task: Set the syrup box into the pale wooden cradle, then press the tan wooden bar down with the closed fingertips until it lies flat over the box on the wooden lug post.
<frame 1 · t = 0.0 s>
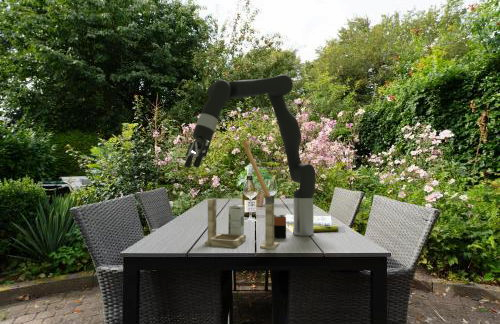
hand: (191, 167, 118), 31 cm above the table, tool tilted 20°, fingers open, 8 cm apart
tan wooden bar: (257, 170, 128), point 30 cm above the table, hinge at 65.0°
syrup box: (236, 238, 142), on the table
battery: (278, 237, 142), on the table
clamp rig: (227, 243, 131), on the table
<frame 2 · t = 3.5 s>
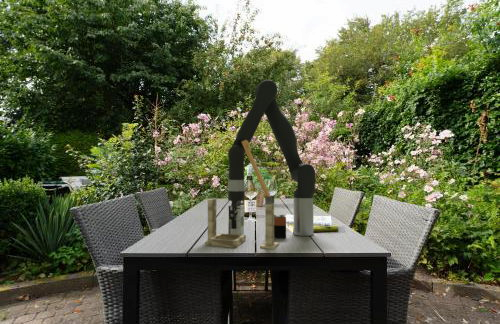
hand: (236, 227, 142), 5 cm above the table, tool pointing down, fingers closed on syrup box, 6 cm apart
syrup box: (236, 238, 142), on the table, touching gripper
everything else where it was.
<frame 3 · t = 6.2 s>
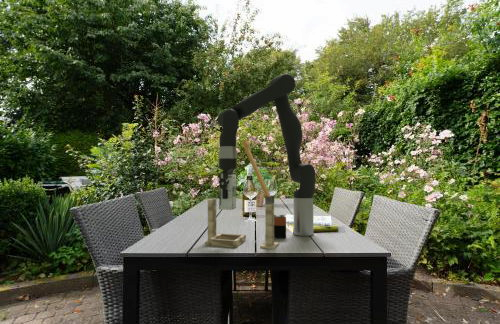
hand: (227, 197, 131), 19 cm above the table, tool pointing down, fingers closed on syrup box, 6 cm apart
syrup box: (227, 209, 131), point 14 cm above the table, touching gripper
everything else where it was.
when the fingers open (6 cm above the table, at t = 8.9 s): syrup box drops 1 cm, resting in clamp rig.
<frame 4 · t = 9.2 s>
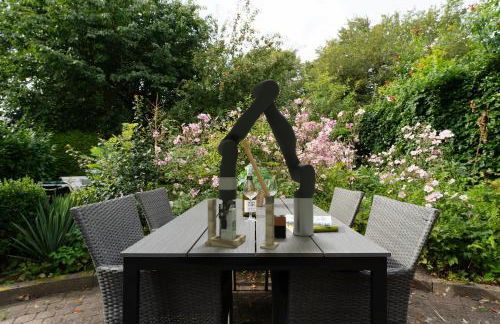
hand: (227, 227, 131), 7 cm above the table, tool pointing down, fingers open, 8 cm apart
syrup box: (227, 243, 131), resting in clamp rig
everything else where it was.
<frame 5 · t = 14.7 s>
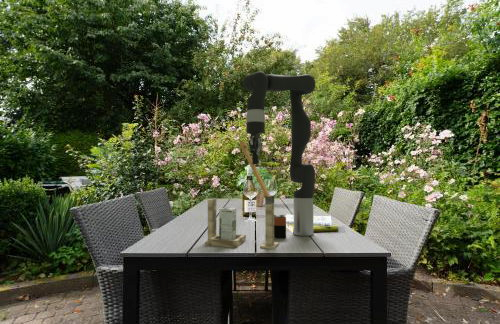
hand: (255, 164, 128), 33 cm above the table, tool pointing down, fingers closed
tan wooden bar: (256, 170, 128), point 30 cm above the table, hinge at 62.5°
everything else where it was.
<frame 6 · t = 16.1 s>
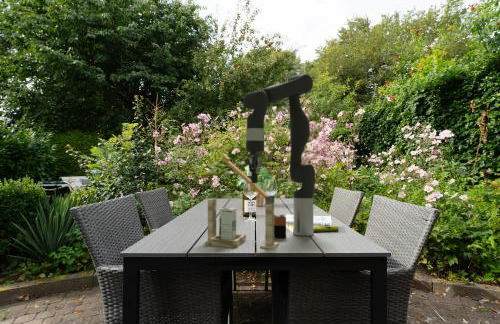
hand: (254, 182, 128), 25 cm above the table, tool pointing down, fingers closed
tan wooden bar: (247, 178, 129), point 27 cm above the table, hinge at 40.2°, touching gripper
everything else where it was.
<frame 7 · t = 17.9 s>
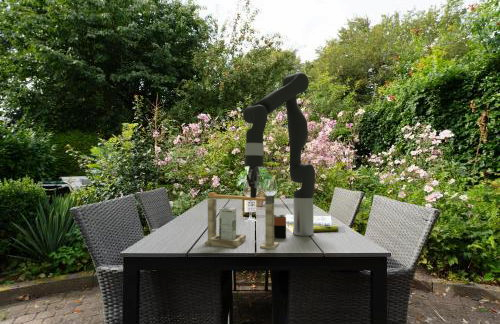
hand: (253, 197, 128), 19 cm above the table, tool pointing down, fingers closed
tan wooden bar: (239, 196, 130), point 19 cm above the table, hinge at 2.2°, touching gripper
everything else where it was.
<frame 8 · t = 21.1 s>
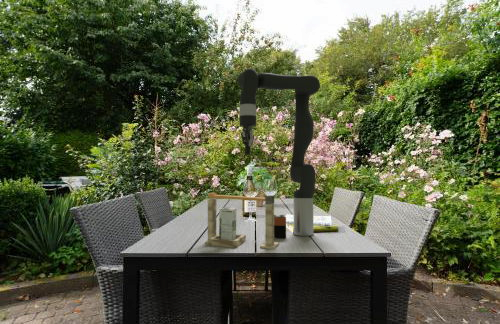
hand: (247, 154, 139), 37 cm above the table, tool pointing down, fingers closed
tan wooden bar: (239, 196, 130), point 19 cm above the table, hinge at 1.8°
everything else where it was.
at the end: tan wooden bar at +2° (first picture: +65°); syrup box inside the target area (0.1 cm from its centre), resting in clamp rig; syrup box tilted 0° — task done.
